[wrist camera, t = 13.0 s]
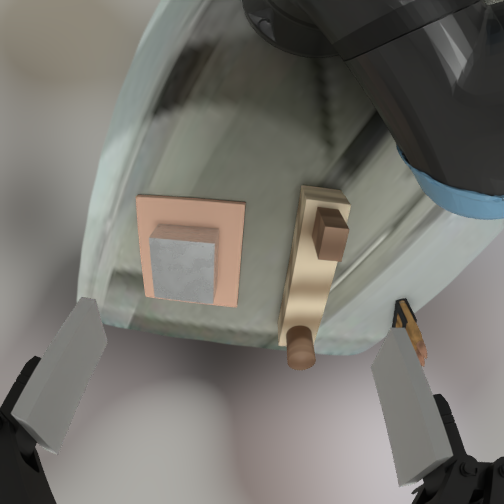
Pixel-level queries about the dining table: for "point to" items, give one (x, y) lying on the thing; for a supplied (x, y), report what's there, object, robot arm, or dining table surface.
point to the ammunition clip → (409, 327)
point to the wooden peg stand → (311, 270)
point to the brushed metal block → (184, 262)
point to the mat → (199, 215)
